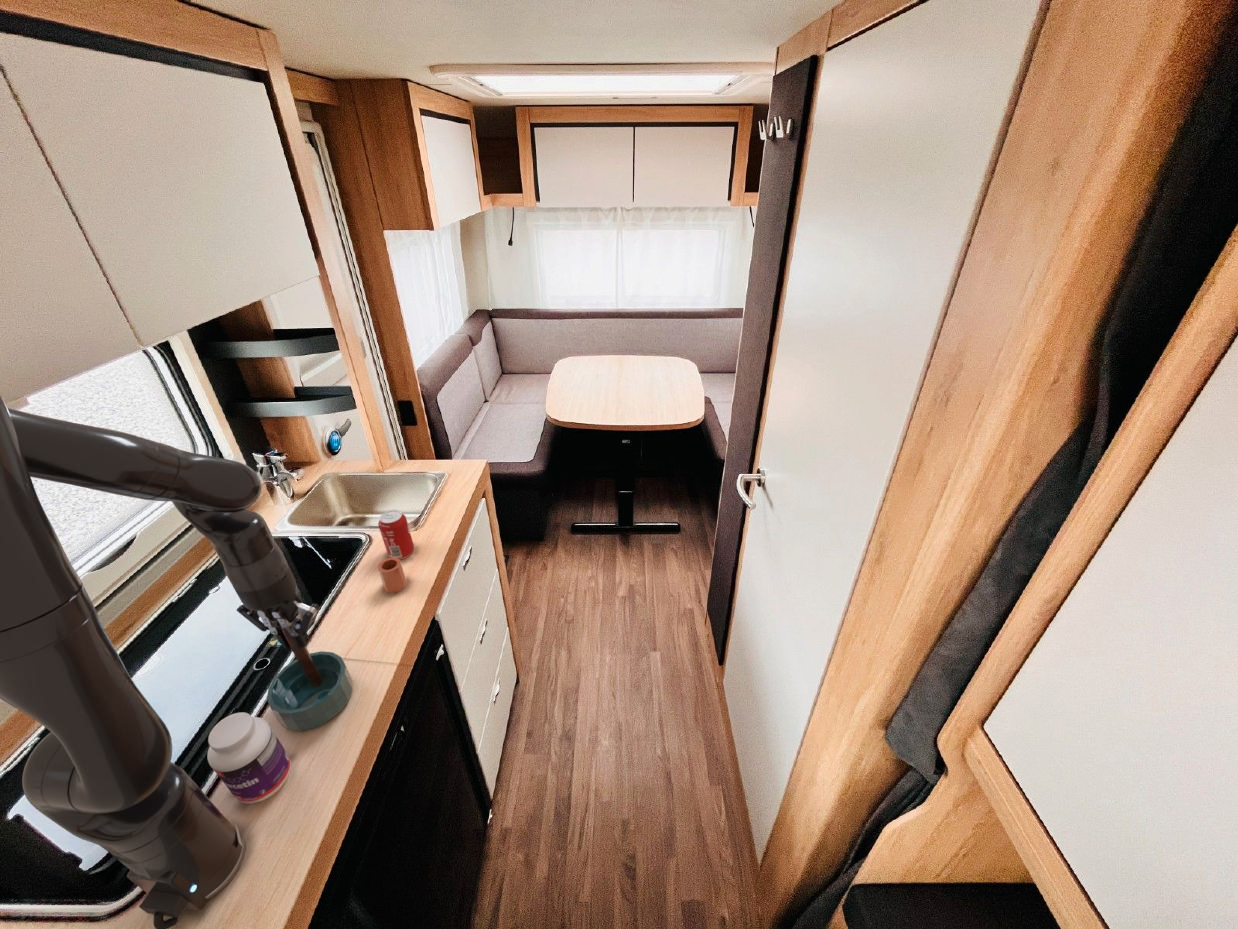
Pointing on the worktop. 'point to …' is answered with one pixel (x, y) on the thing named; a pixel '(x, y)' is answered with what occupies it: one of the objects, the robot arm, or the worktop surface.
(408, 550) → the beverage can
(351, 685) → the bowl
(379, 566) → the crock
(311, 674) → the cooking stick
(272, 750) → the pill bottle
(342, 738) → the worktop surface
